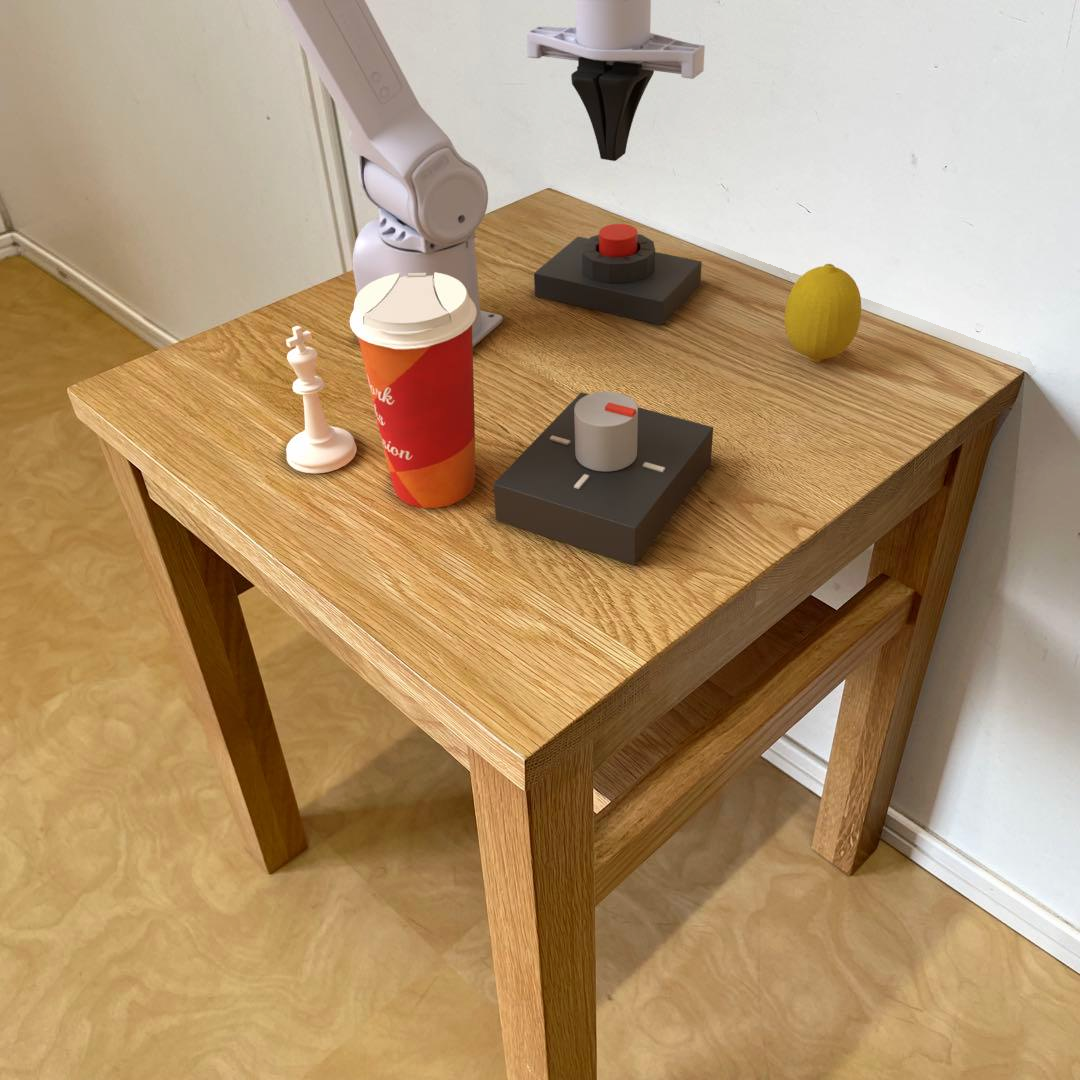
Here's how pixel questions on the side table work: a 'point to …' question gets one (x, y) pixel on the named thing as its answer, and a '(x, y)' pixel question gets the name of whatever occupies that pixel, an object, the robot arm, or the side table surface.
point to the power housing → (619, 280)
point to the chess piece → (314, 417)
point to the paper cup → (421, 382)
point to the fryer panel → (604, 486)
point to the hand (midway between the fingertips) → (612, 156)
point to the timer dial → (606, 431)
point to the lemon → (823, 312)
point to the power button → (618, 240)
